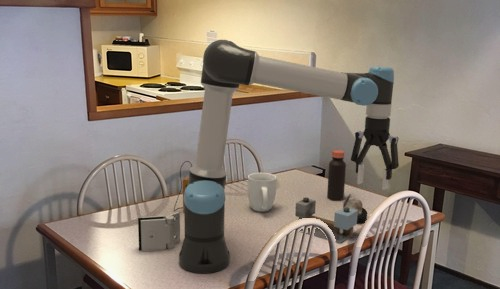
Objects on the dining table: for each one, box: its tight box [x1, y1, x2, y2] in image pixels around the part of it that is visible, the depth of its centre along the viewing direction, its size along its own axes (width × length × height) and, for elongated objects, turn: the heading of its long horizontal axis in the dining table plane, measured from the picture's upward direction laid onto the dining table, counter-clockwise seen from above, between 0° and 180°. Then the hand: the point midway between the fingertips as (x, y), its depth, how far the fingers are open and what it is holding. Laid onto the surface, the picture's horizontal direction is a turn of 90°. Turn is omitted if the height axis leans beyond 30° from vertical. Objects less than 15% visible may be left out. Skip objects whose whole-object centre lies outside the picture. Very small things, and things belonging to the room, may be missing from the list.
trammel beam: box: [294, 196, 354, 238], centre depth 174 cm, size 7×20×9 cm, turn 52°
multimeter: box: [173, 160, 193, 213], centre depth 189 cm, size 15×10×20 cm
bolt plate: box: [299, 228, 351, 244], centre depth 172 cm, size 7×20×1 cm, turn 52°
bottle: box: [326, 149, 347, 202], centre depth 204 cm, size 7×7×20 cm
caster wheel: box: [342, 193, 368, 225], centre depth 185 cm, size 7×11×10 cm
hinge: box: [137, 211, 181, 252], centre depth 157 cm, size 14×5×10 cm, turn 116°
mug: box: [247, 172, 277, 213], centre depth 189 cm, size 15×11×13 cm
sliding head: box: [333, 207, 358, 234], centre depth 169 cm, size 7×5×8 cm
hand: (372, 185), depth 161 cm, fingers open, 8 cm apart
